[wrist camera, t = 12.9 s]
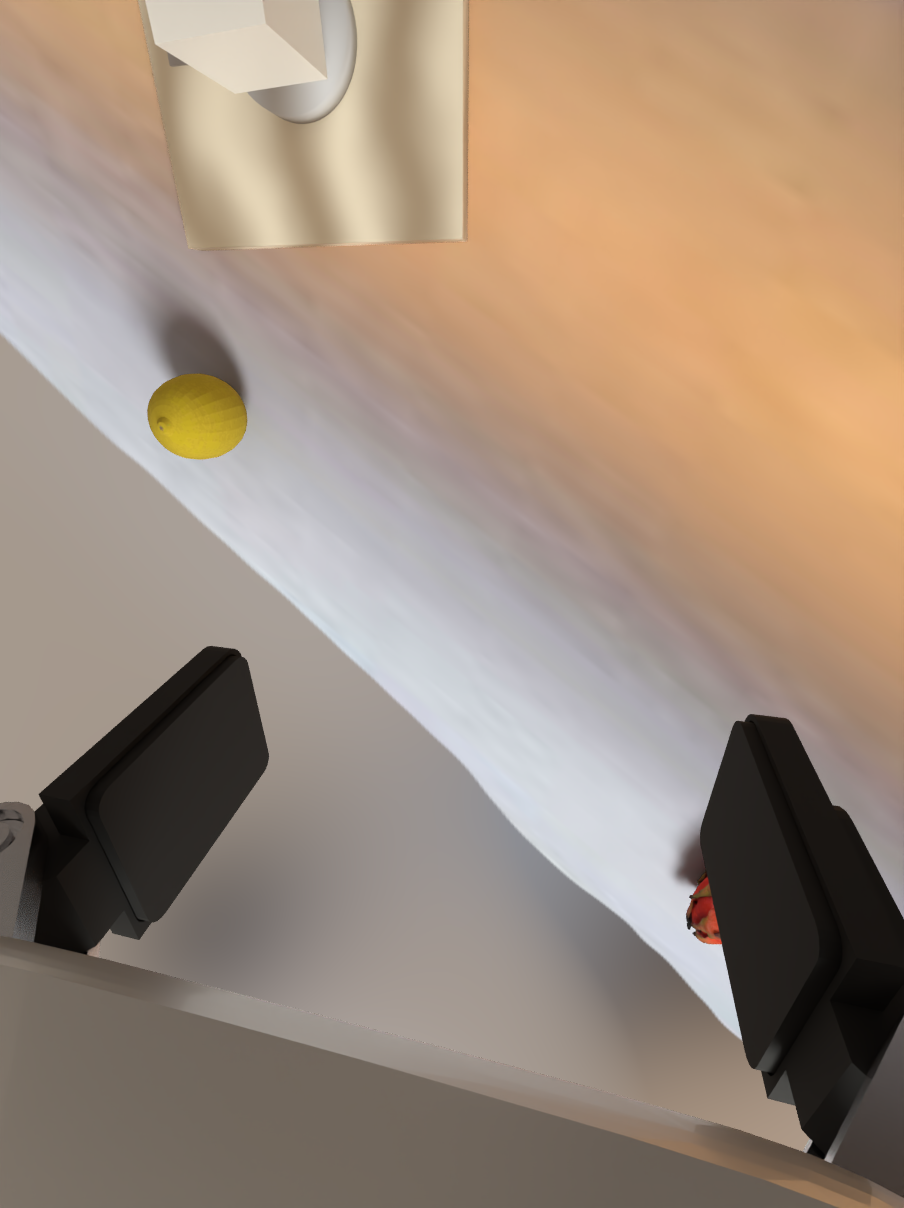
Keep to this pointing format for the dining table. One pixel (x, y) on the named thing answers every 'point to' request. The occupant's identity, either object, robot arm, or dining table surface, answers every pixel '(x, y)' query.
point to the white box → (243, 40)
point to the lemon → (197, 416)
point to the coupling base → (329, 136)
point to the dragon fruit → (703, 914)
